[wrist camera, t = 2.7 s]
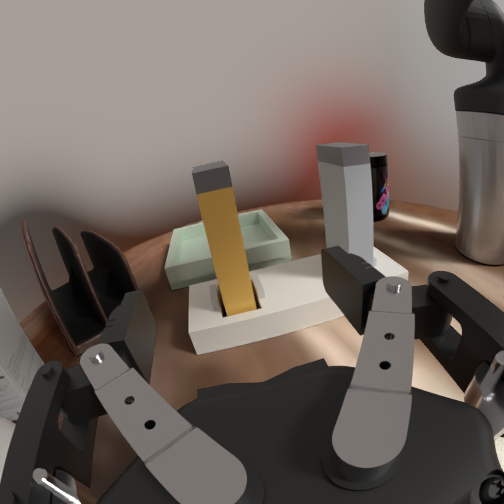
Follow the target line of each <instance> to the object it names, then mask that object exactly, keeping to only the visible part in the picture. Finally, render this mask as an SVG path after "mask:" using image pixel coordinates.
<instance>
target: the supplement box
mask: <svg viewBox="0 0 504 504" xmlns="http://www.w3.org/2000/svg"><path fill="white" fill-rule="evenodd" d="M44 364H45V363H44V362H43V361H42V359H41V358H40V356H39V355H38V353H37V352H36V350H35V348H34V347H33V346H32V344H31V342H30V341H29V339H28V338H27V336H26V334H25V333H24V331H23V329H22V328H21V326H20V324H19V322H18V321H17V319H16V317H15V315H14V313H13V312H12V310H11V308H10V306H9V304H8V302H7V300H6V298H5V296H4V294H3V292H2V290H1V288H0V416H1V417H4V418H6V419H8V420H10V421H14V420H18V417H19V414H20V411H21V409H22V406H23V403H24V401H25V398H26V396H27V393H28V391H29V388H30V386H31V383H32V381H33V379H34V376H35V374H36V372H37V370H38V369H39V368H40V367H41V366H42V365H44Z"/></svg>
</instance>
